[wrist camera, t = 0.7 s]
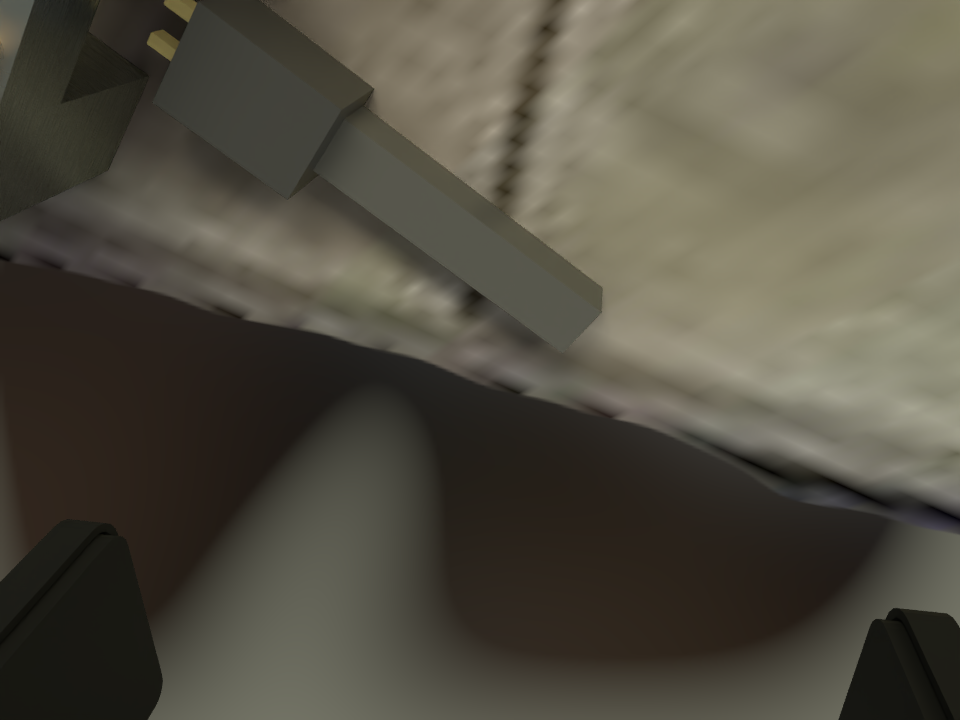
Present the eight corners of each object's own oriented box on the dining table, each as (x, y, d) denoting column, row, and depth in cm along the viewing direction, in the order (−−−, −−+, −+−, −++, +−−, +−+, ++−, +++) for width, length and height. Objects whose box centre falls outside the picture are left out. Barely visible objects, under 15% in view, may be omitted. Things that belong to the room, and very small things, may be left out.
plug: (212, -37, 35) (154, -32, 31) (615, 273, 39) (614, 316, 35) (170, 56, 37) (111, 73, 33) (554, 339, 42) (547, 386, 37)
